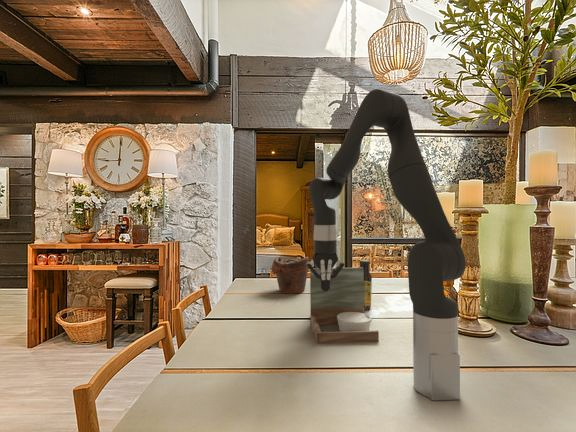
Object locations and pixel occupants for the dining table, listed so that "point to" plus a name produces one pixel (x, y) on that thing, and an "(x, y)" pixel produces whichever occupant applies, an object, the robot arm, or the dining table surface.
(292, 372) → the dining table surface
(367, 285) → the sauce bottle
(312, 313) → the cold frame
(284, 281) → the brown flower pot
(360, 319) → the ramekin
